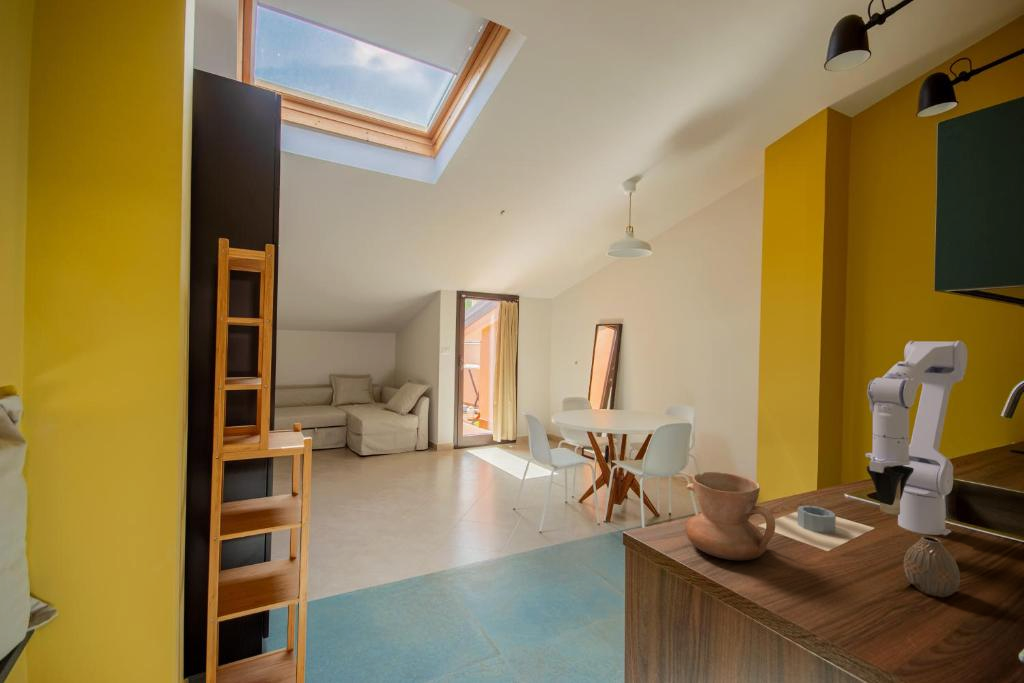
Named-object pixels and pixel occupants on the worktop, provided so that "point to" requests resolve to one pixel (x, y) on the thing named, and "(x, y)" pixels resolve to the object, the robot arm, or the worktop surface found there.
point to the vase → (931, 568)
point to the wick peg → (895, 507)
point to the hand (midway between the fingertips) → (889, 502)
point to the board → (825, 541)
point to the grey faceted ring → (816, 519)
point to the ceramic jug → (728, 517)
